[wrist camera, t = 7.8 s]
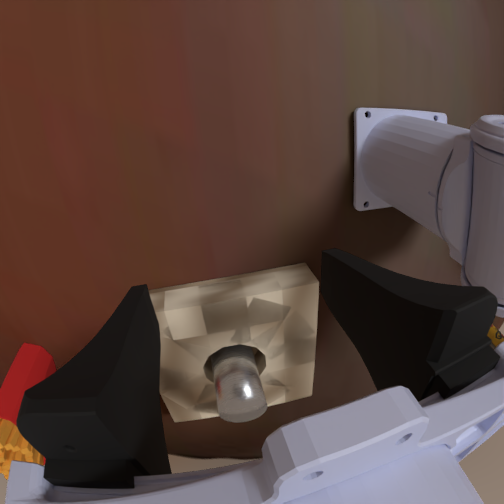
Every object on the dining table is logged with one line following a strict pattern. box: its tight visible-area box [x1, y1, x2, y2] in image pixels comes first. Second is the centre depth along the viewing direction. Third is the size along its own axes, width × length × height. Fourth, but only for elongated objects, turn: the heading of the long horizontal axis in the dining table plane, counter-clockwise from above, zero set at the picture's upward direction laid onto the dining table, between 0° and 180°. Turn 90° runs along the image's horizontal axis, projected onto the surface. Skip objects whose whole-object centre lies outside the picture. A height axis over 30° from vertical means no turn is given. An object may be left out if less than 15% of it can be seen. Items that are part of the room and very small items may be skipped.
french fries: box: [0, 343, 57, 479], centre depth 19 cm, size 9×4×13 cm, turn 167°
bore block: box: [148, 263, 319, 422], centre depth 26 cm, size 14×14×3 cm
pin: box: [211, 344, 267, 422], centre depth 24 cm, size 4×4×7 cm
